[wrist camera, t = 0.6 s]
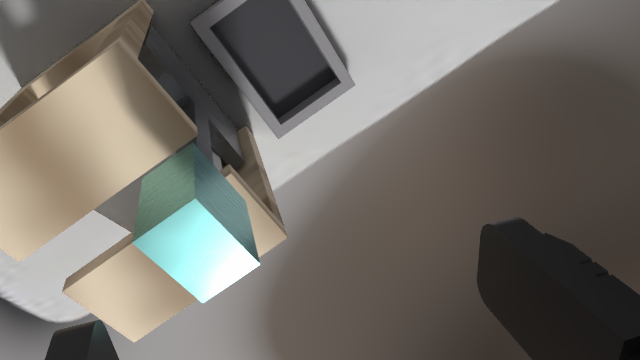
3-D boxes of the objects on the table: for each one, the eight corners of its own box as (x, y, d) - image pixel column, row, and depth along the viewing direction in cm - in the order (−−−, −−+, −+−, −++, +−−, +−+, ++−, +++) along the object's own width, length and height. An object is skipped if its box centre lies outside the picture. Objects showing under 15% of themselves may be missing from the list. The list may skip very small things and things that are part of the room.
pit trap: (275, -42, 31) (280, -41, 29) (349, 78, 36) (355, 84, 35) (190, 20, 31) (190, 24, 30) (274, 131, 36) (278, 139, 35)
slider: (161, 17, 30) (132, 133, 13) (244, 121, 35) (301, 306, 18) (130, 40, 30) (62, 183, 13) (217, 141, 35) (248, 342, 18)
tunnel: (143, -3, 30) (116, 43, 18) (253, 135, 36) (287, 237, 24) (21, 88, 31) (-83, 190, 19) (150, 208, 37) (134, 342, 25)
